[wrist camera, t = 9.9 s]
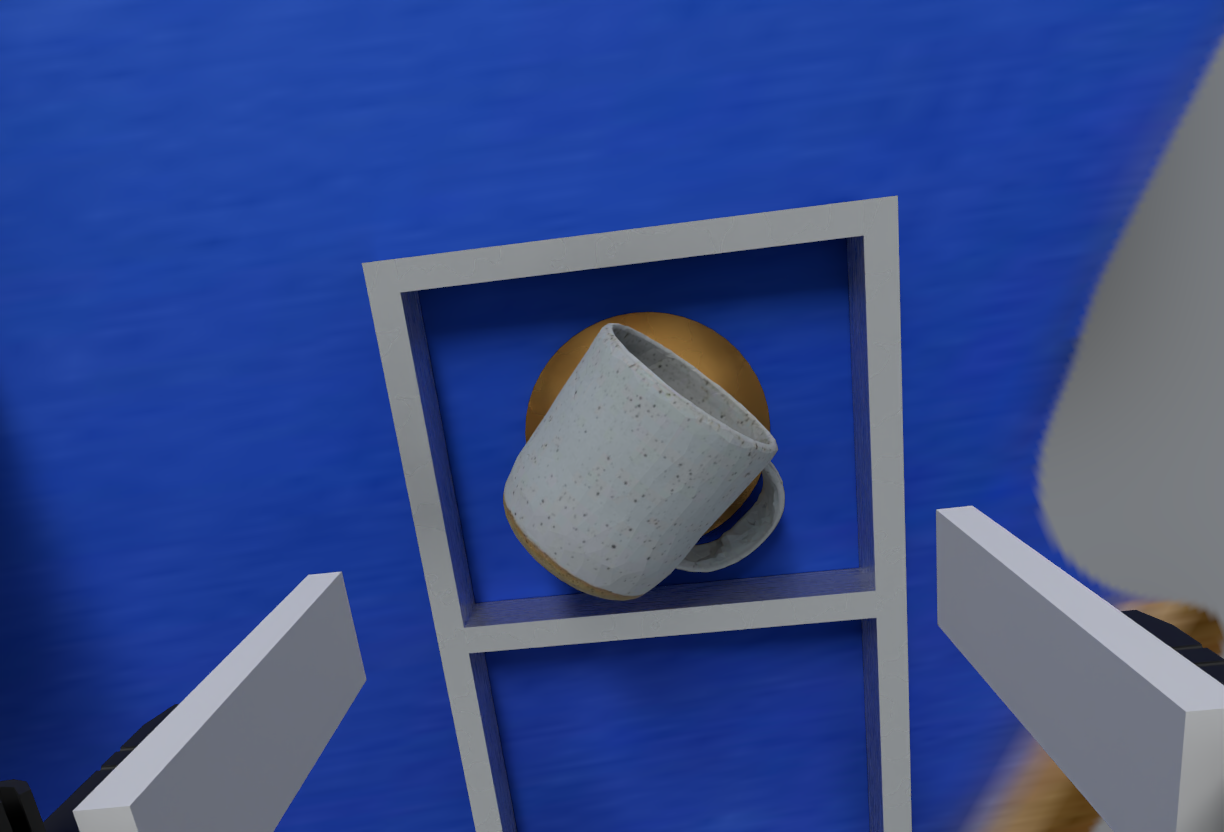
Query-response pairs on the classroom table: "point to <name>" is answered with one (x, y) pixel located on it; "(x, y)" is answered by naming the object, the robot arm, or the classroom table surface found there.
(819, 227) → the slot rack
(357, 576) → the classroom table surface
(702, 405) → the ceramic mug
